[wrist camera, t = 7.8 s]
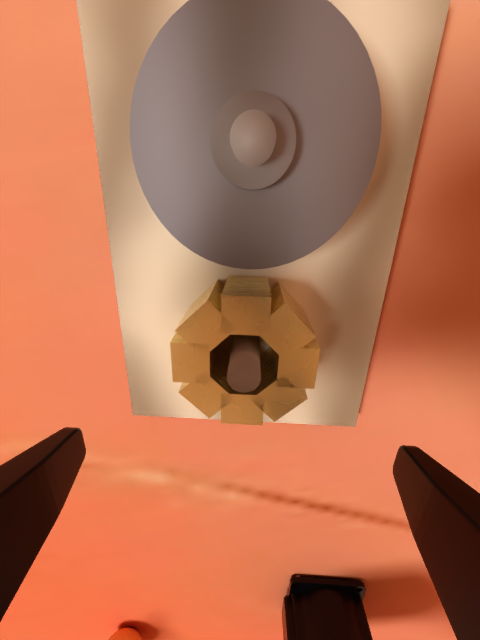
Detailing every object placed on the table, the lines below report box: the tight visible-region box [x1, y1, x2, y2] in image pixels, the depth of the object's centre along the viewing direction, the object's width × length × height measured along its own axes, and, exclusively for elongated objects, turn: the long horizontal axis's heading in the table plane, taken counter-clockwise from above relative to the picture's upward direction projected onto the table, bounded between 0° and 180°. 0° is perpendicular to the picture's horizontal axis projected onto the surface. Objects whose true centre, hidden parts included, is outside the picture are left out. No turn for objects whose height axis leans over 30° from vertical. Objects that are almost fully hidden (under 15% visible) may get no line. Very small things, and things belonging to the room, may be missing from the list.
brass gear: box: [170, 275, 320, 425], centre depth 14 cm, size 6×6×4 cm
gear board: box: [76, 0, 450, 427], centre depth 13 cm, size 14×20×6 cm
